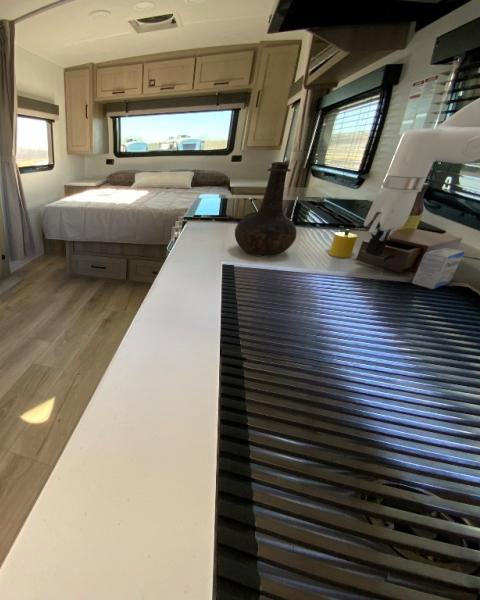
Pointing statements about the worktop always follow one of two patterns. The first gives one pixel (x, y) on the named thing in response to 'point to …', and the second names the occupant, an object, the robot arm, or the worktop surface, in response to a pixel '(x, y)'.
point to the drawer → (392, 256)
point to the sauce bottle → (416, 210)
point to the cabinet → (424, 241)
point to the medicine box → (437, 267)
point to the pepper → (343, 244)
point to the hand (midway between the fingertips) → (373, 253)
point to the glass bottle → (268, 220)
